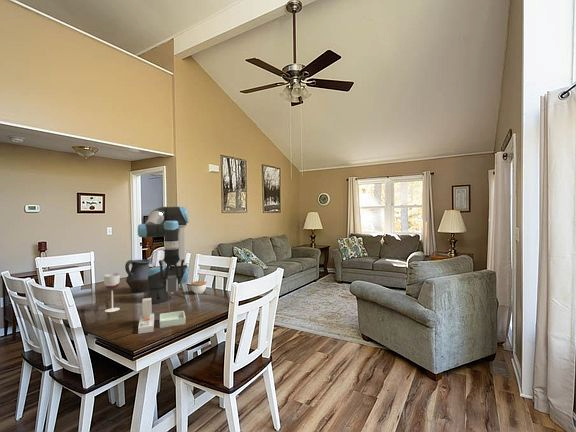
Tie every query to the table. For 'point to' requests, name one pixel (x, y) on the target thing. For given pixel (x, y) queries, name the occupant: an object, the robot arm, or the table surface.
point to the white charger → (147, 306)
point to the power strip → (146, 324)
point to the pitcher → (138, 275)
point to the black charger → (172, 284)
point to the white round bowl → (198, 287)
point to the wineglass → (112, 286)
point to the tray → (172, 319)
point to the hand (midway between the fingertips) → (172, 290)
